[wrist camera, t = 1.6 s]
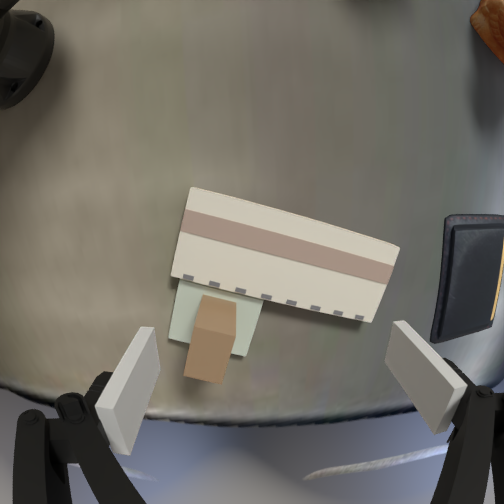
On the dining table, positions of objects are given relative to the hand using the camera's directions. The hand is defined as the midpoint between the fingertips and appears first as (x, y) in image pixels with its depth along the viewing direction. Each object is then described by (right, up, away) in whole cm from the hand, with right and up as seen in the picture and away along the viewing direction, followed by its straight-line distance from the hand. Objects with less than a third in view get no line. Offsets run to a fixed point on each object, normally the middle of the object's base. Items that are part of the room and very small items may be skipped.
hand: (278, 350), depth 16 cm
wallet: (+32, +1, +23) cm, 40 cm away
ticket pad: (+3, +5, +20) cm, 21 cm away
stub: (-6, -3, +22) cm, 23 cm away
